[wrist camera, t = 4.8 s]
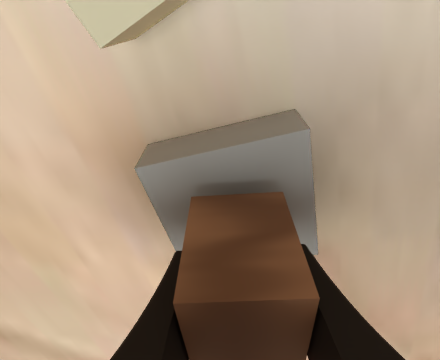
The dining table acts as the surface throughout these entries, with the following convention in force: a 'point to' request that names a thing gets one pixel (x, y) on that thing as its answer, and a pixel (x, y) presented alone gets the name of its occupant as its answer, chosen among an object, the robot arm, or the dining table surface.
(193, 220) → the walnut block
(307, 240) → the base block
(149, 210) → the dining table surface
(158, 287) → the robot arm
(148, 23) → the sage block
